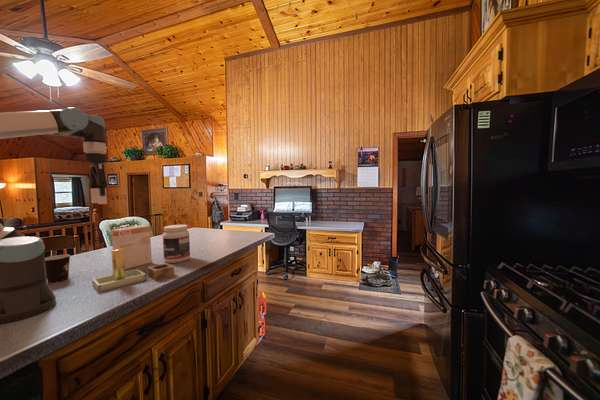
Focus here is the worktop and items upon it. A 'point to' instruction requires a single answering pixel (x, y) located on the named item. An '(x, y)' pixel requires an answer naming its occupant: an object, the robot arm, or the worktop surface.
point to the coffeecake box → (133, 244)
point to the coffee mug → (57, 268)
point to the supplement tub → (176, 243)
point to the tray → (109, 282)
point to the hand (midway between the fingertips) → (99, 203)
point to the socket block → (160, 271)
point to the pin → (118, 264)
